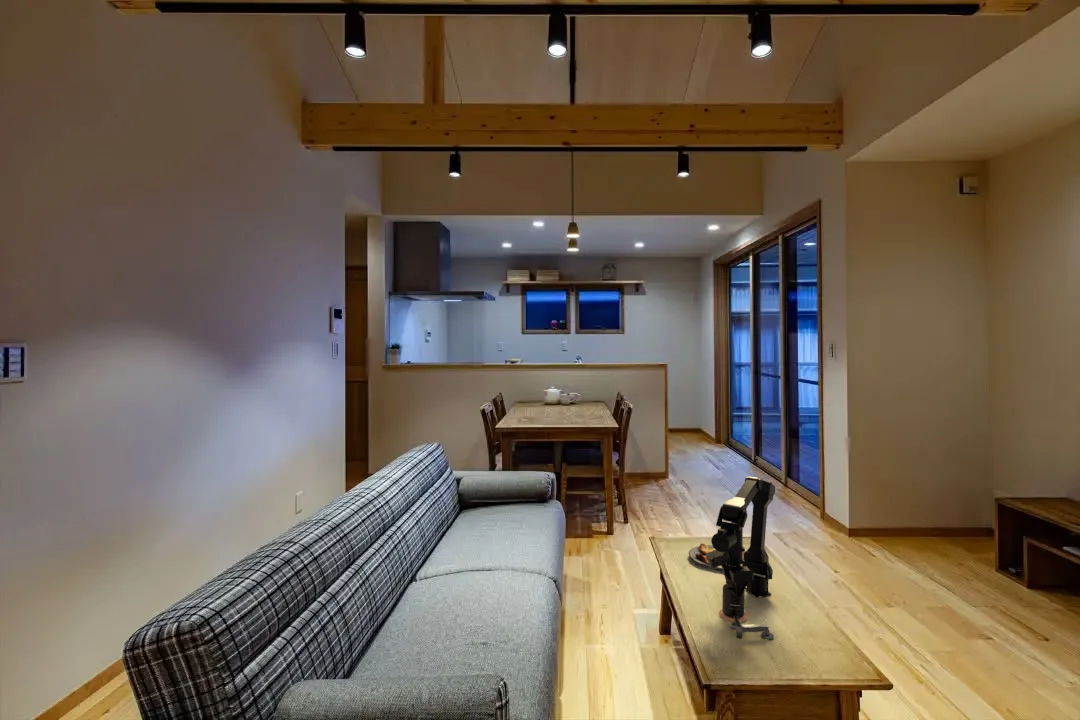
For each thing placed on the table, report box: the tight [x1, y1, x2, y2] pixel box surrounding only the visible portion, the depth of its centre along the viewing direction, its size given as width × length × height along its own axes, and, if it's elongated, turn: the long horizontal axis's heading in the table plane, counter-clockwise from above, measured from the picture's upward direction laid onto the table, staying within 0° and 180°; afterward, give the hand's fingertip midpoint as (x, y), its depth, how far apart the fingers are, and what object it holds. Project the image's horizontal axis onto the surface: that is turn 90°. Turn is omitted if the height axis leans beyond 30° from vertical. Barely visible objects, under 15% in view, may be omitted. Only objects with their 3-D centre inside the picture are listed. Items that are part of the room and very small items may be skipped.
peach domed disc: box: [718, 608, 749, 624], centre depth 181 cm, size 9×9×1 cm
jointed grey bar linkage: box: [730, 616, 775, 641], centre depth 171 cm, size 11×11×4 cm
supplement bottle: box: [721, 575, 746, 618], centre depth 181 cm, size 7×7×12 cm
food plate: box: [688, 543, 745, 570], centre depth 226 cm, size 25×23×4 cm
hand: (733, 590), depth 181 cm, fingers open, 9 cm apart
